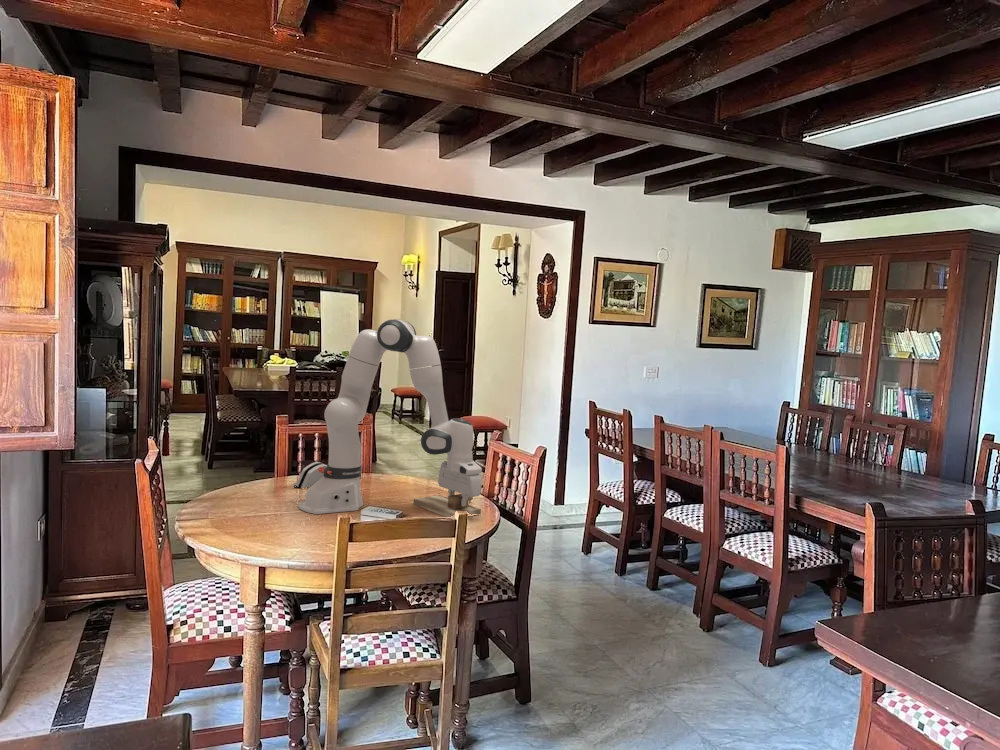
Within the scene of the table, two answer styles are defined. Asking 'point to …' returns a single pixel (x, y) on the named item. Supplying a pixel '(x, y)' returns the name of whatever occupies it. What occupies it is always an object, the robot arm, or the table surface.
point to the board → (442, 506)
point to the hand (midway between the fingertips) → (458, 504)
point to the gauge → (457, 501)
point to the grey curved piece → (310, 475)
